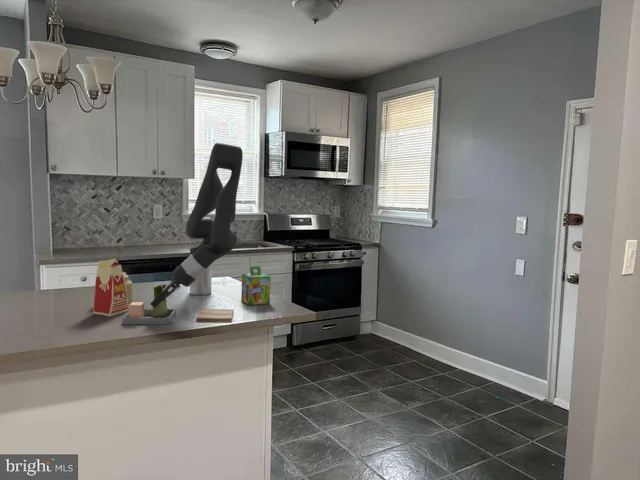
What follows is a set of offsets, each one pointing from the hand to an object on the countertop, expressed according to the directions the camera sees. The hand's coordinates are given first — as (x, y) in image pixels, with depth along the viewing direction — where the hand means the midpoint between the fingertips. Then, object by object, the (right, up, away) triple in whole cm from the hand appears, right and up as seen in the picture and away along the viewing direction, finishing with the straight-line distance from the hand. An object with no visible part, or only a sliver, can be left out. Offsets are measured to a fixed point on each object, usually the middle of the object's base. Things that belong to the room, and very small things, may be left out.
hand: (154, 303), depth 163 cm
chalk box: (+31, -4, +29) cm, 43 cm away
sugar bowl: (-22, -3, +20) cm, 30 cm away
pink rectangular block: (-5, -6, -3) cm, 8 cm away
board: (+20, -6, +5) cm, 22 cm away
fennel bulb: (+2, -6, +1) cm, 6 cm away
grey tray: (-1, -5, -1) cm, 6 cm away
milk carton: (-18, -4, +6) cm, 20 cm away
